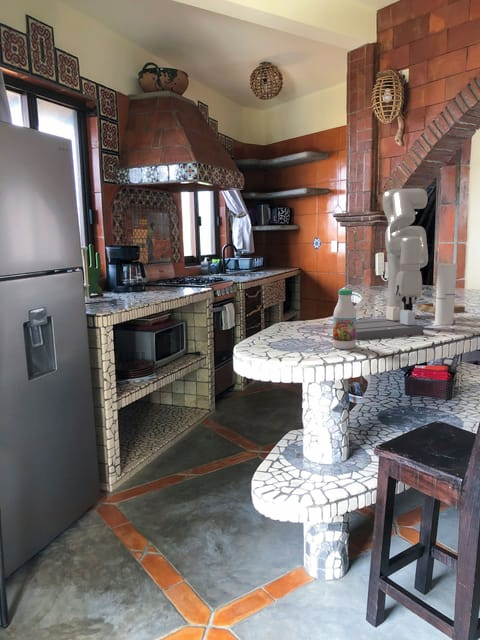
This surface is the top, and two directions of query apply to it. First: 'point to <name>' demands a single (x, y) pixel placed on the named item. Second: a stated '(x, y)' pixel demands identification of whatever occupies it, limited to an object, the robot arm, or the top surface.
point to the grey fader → (407, 317)
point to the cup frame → (431, 308)
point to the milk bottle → (344, 321)
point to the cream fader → (392, 313)
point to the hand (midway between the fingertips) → (407, 312)
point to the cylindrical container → (445, 293)
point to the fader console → (385, 329)
